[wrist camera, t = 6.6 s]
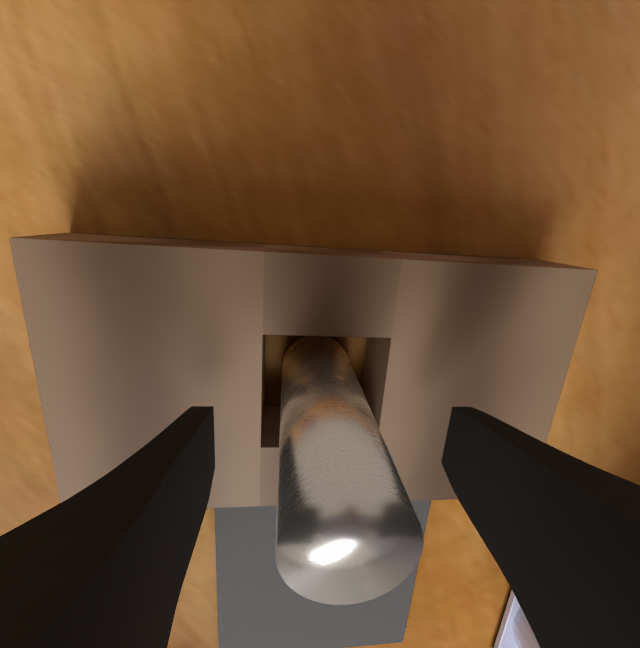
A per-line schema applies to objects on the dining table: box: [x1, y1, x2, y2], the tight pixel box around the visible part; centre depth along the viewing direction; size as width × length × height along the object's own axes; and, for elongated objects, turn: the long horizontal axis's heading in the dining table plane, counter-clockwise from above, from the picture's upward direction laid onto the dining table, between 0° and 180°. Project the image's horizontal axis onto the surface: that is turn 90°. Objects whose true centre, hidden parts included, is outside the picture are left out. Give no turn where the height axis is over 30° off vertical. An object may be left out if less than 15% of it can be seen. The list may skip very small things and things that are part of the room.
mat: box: [215, 500, 431, 648], centre depth 19 cm, size 11×11×1 cm
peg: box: [275, 336, 424, 605], centre depth 11 cm, size 3×3×9 cm
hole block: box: [9, 233, 598, 508], centre depth 14 cm, size 19×10×3 cm, turn 86°
